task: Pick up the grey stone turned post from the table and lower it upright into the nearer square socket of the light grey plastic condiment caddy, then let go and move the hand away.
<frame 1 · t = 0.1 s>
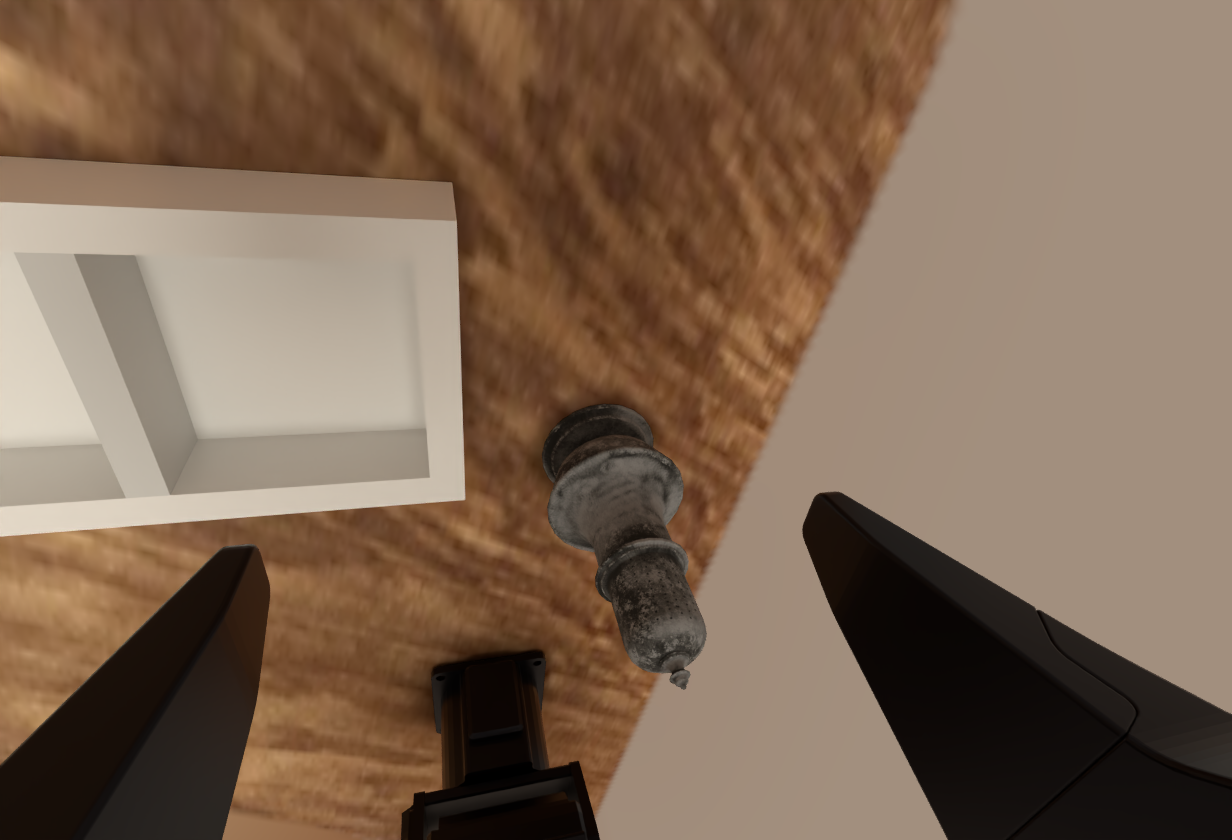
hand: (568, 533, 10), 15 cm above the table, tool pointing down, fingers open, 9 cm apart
condiment caddy: (153, 326, 20), on the table
grey stone turned post: (597, 448, 28), on the table
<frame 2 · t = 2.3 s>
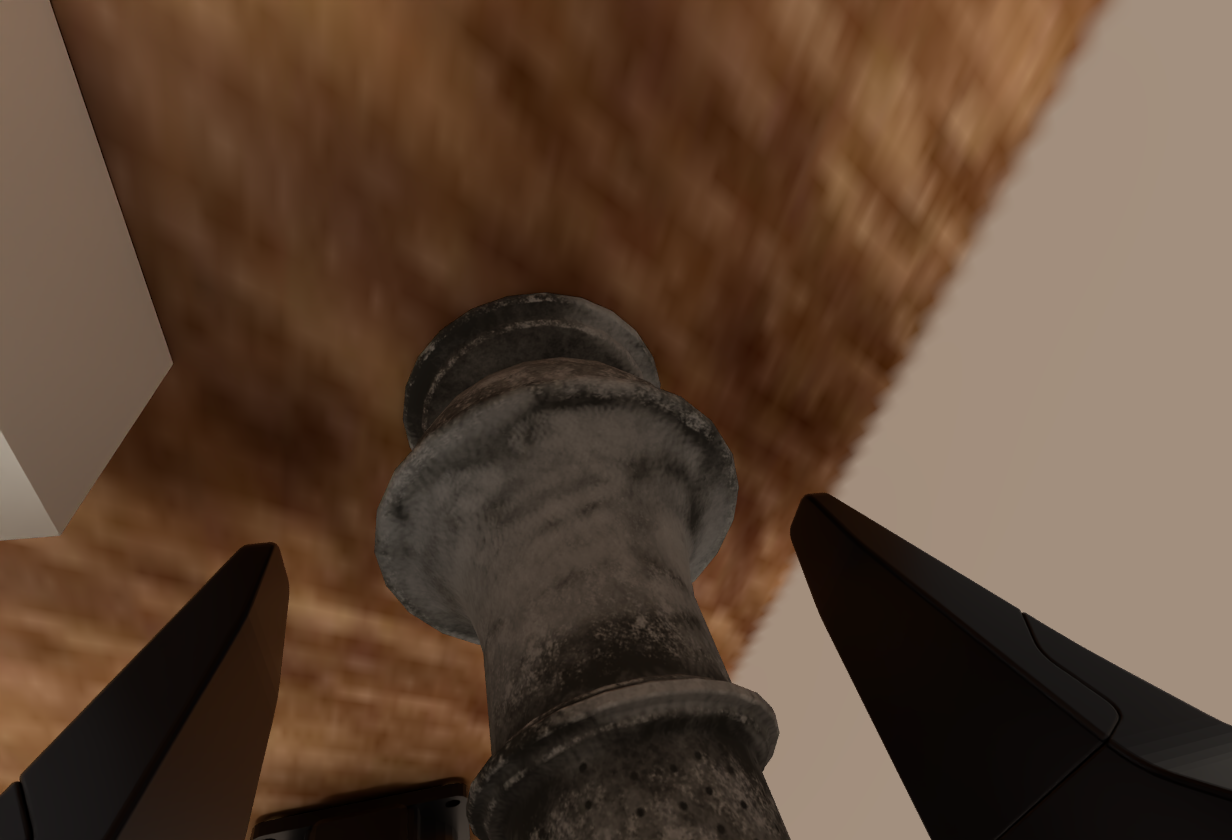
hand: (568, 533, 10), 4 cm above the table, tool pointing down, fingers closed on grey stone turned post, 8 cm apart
grey stone turned post: (536, 406, 13), on the table, touching gripper
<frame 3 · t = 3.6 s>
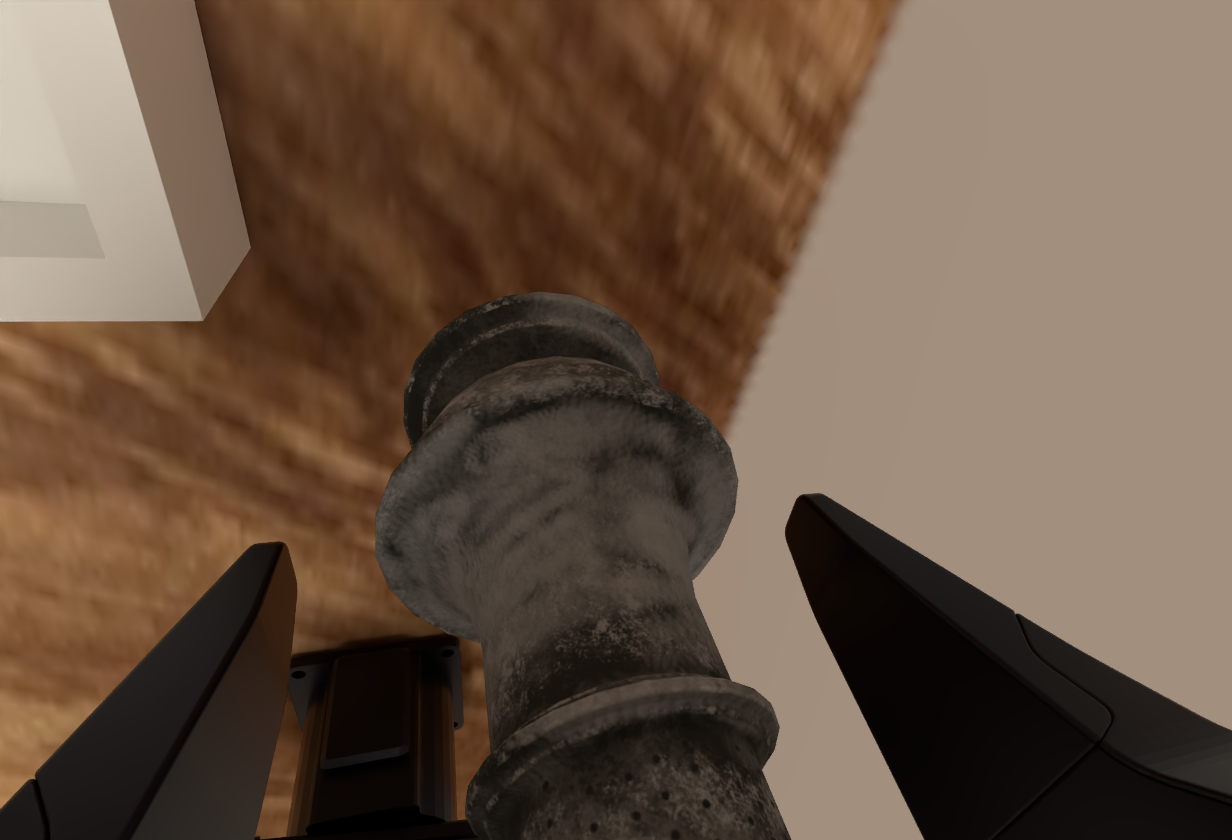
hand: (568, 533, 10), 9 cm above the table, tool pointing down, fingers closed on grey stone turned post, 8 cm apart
grey stone turned post: (536, 405, 13), point 6 cm above the table, touching gripper
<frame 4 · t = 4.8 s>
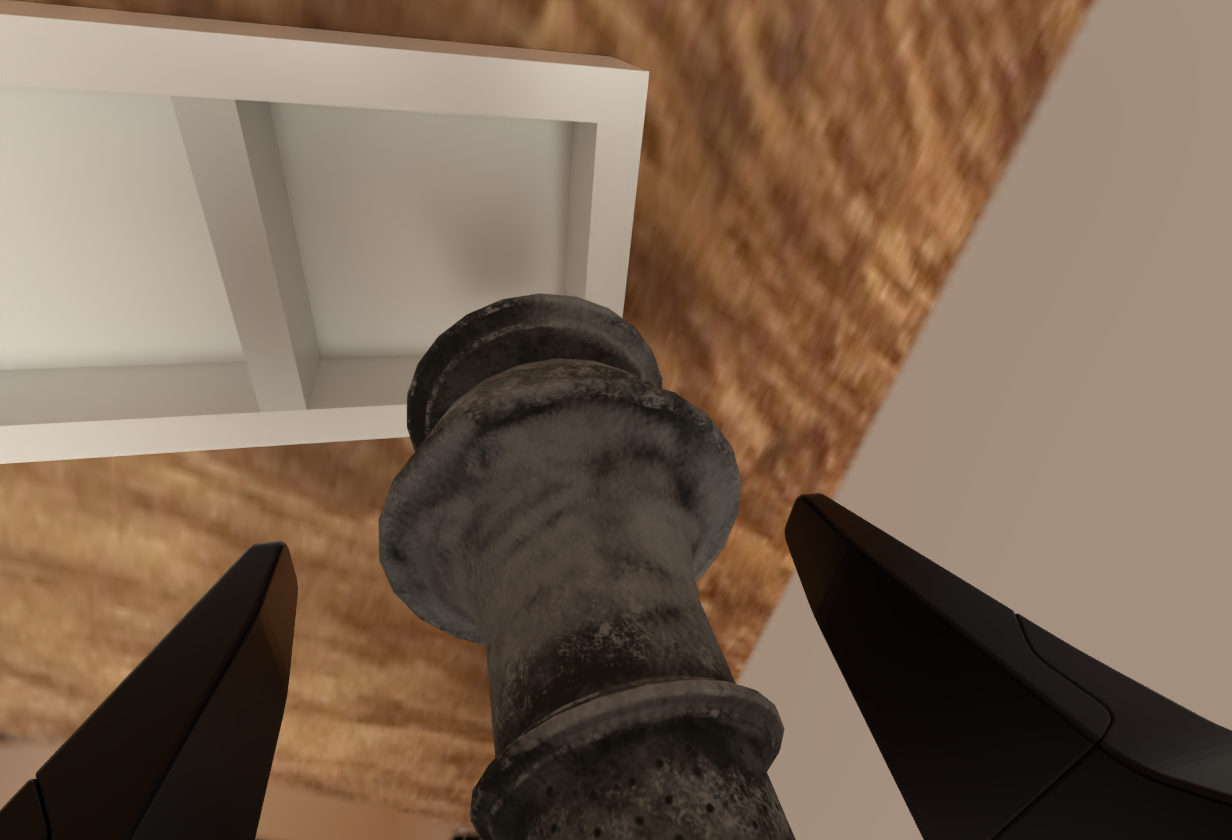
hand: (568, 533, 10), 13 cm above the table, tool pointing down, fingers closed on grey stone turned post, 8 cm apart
condiment caddy: (280, 227, 18), on the table
grey stone turned post: (538, 406, 13), point 9 cm above the table, touching gripper
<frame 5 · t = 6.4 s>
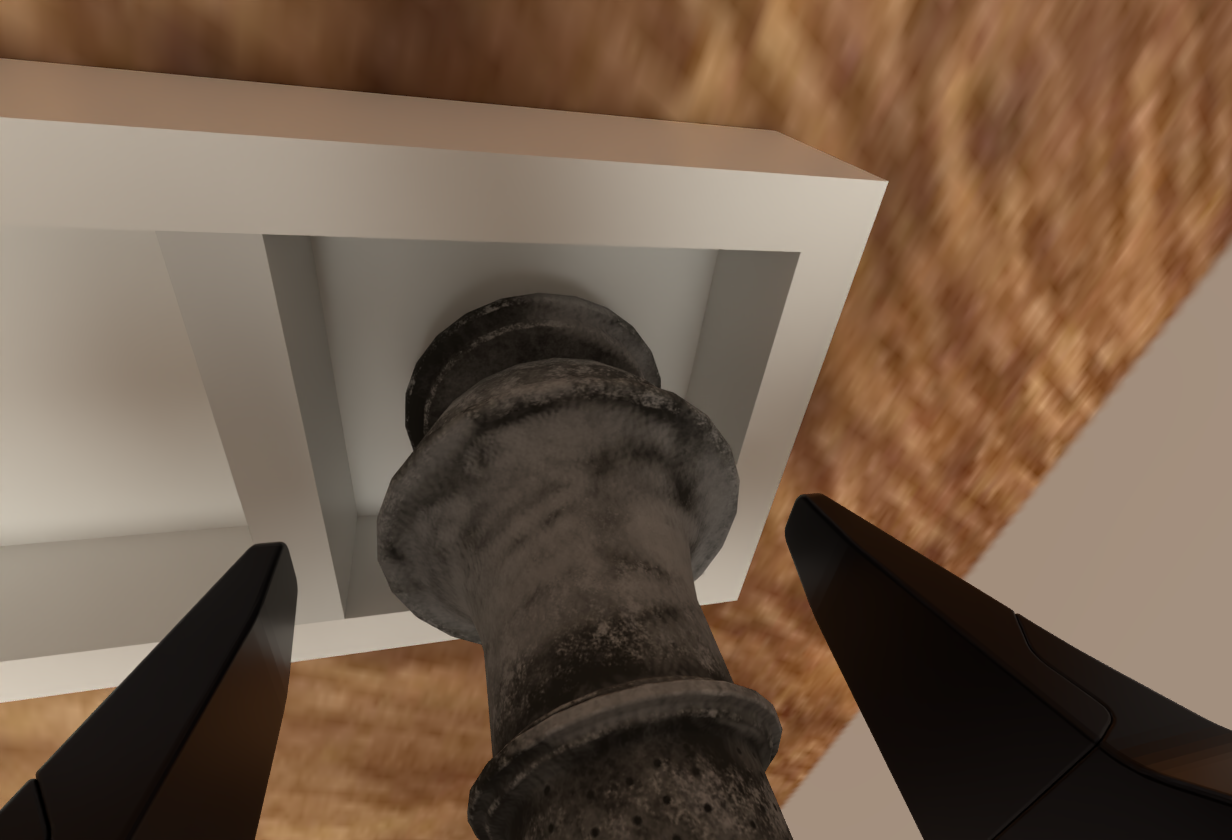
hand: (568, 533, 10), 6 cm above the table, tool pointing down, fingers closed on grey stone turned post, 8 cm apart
condiment caddy: (309, 353, 13), on the table
grey stone turned post: (537, 406, 13), point 2 cm above the table, touching gripper
when the fingers open (6 cm above the table, at t = 7.7 s): grey stone turned post drops 1 cm, resting on condiment caddy.
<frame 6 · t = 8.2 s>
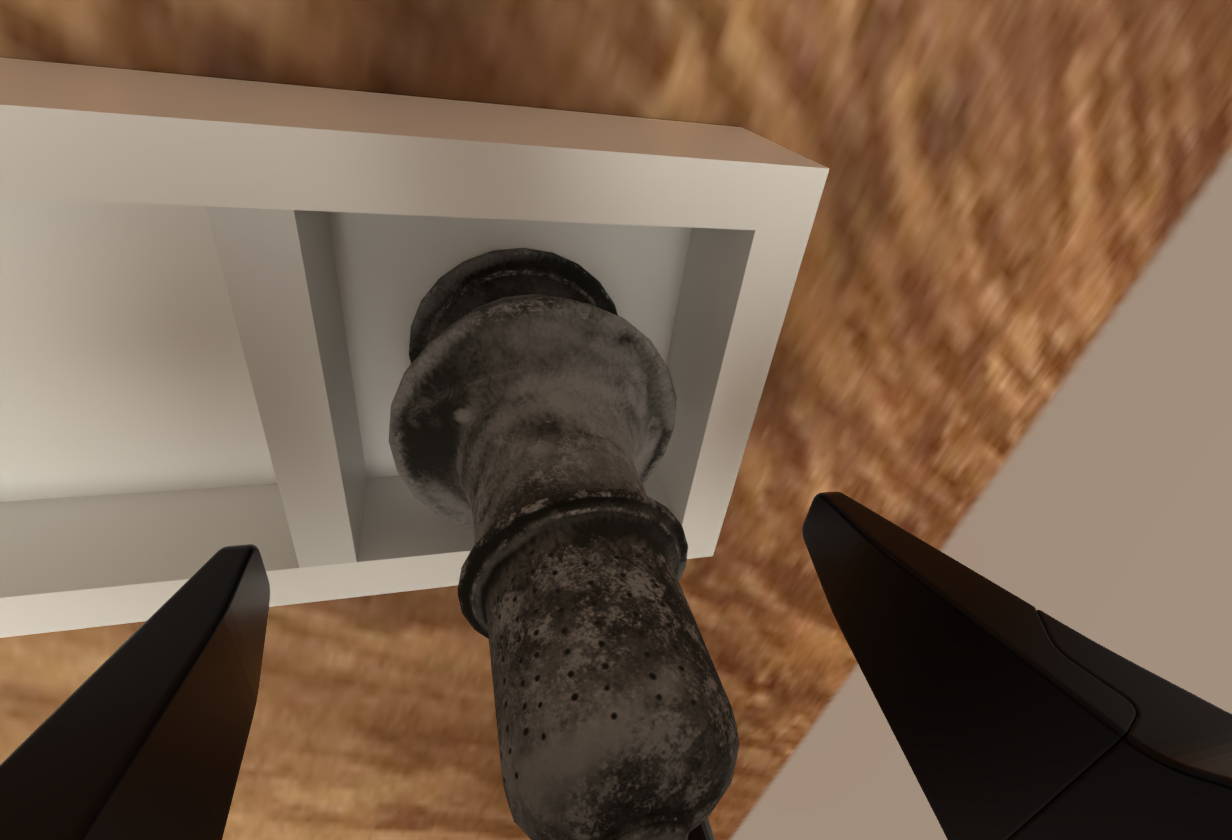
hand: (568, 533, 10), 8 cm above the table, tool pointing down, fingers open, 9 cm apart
condiment caddy: (325, 326, 15), on the table
grey stone turned post: (518, 346, 15), point 1 cm above the table, touching condiment caddy
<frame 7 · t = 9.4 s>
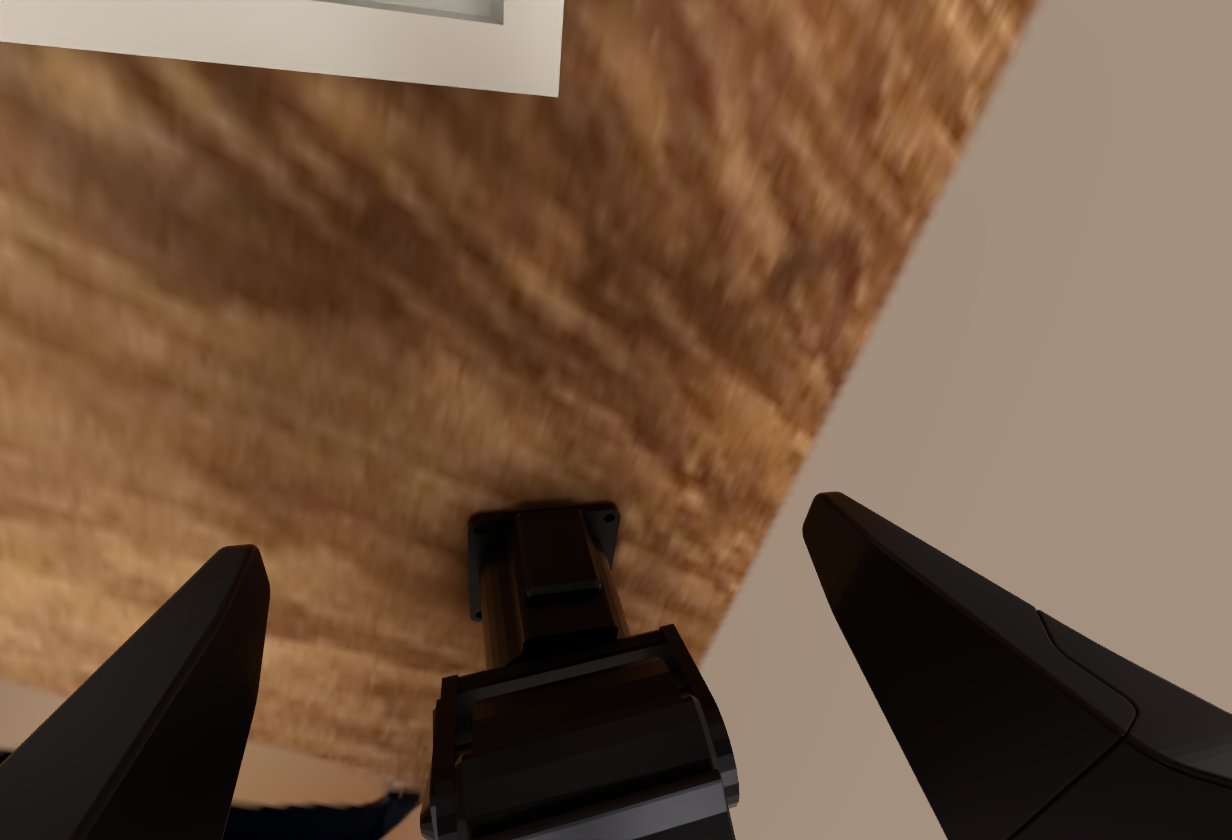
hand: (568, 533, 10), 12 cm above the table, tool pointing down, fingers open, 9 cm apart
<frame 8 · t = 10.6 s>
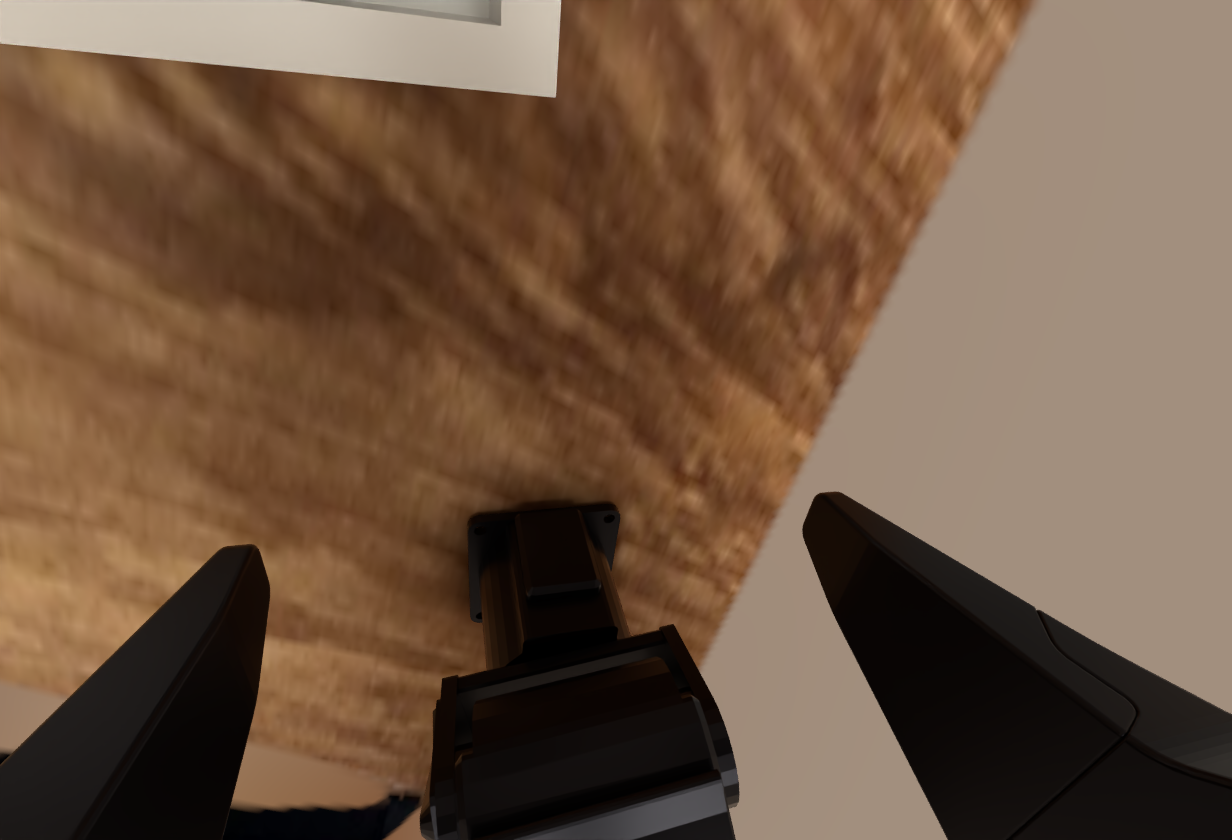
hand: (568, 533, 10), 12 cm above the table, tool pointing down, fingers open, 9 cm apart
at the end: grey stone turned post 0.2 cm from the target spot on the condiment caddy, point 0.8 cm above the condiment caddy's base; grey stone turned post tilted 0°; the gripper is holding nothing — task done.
